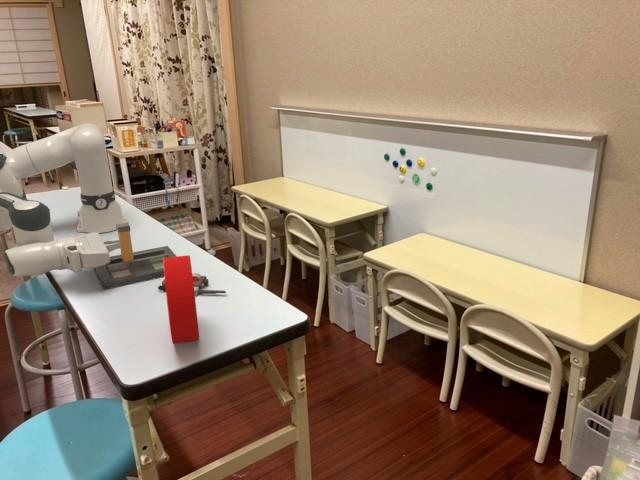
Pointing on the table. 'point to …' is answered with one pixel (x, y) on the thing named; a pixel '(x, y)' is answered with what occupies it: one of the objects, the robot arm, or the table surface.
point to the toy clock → (181, 299)
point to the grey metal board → (133, 268)
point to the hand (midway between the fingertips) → (120, 243)
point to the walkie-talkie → (197, 285)
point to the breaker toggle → (125, 241)
